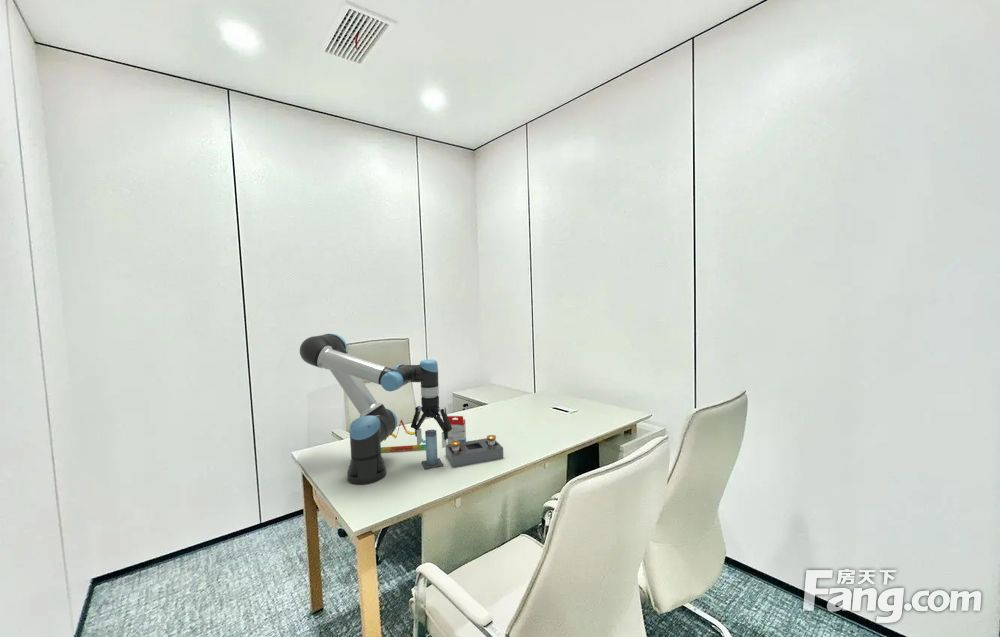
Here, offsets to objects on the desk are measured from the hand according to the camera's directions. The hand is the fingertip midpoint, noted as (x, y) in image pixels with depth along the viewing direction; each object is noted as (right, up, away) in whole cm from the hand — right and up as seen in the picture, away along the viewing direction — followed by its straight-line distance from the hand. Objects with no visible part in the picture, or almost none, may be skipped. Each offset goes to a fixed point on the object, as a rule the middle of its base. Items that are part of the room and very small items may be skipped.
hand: (431, 445), depth 170 cm
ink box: (+8, -7, +24) cm, 26 cm away
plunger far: (+26, -7, +10) cm, 29 cm away
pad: (0, -8, 0) cm, 8 cm away
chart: (-20, -9, +17) cm, 27 cm away
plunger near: (+10, -7, +4) cm, 13 cm away
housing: (+18, -8, +7) cm, 21 cm away
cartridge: (0, -8, 0) cm, 8 cm away
